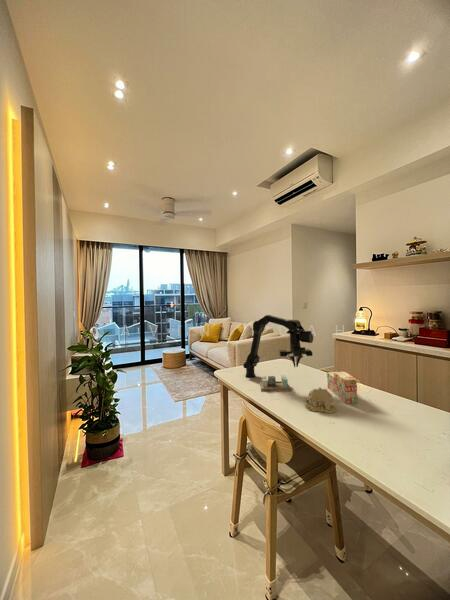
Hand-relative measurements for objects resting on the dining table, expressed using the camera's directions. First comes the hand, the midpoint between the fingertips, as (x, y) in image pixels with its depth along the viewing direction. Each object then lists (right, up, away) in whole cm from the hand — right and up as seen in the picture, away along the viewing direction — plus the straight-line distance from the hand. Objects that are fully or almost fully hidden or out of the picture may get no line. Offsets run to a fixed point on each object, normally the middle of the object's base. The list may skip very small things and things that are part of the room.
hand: (295, 367), depth 149 cm
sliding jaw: (-7, -11, +1) cm, 13 cm away
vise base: (-12, -13, +1) cm, 18 cm away
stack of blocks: (+21, -12, -13) cm, 28 cm away
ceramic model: (+4, -13, -27) cm, 30 cm away
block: (-14, -12, +1) cm, 18 cm away
